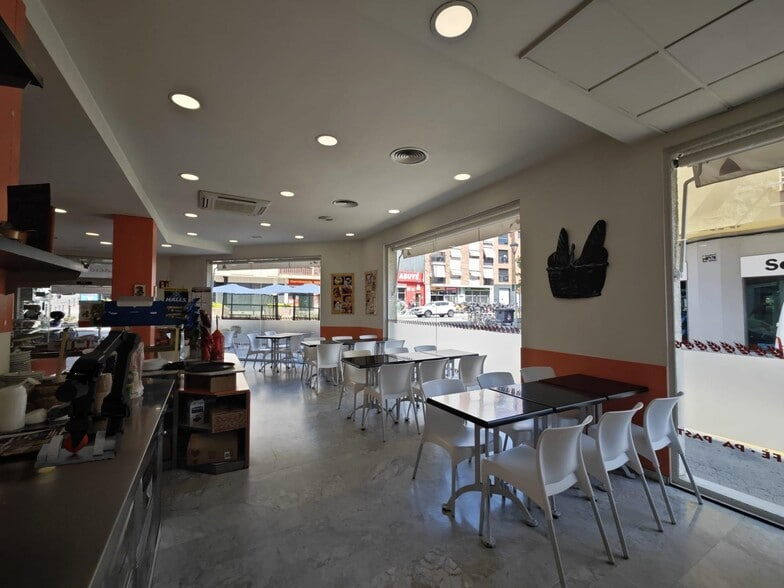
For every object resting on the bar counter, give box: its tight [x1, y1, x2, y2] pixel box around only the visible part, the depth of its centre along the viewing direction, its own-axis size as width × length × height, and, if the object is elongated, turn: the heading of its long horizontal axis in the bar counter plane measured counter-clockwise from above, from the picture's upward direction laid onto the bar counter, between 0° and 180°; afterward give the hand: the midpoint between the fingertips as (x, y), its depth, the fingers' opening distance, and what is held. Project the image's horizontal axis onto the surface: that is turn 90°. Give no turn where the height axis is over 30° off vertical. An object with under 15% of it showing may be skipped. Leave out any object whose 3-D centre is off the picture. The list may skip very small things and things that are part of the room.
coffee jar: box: [110, 373, 134, 404], centre depth 160 cm, size 10×8×19 cm
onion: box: [63, 433, 89, 453], centre depth 115 cm, size 6×6×8 cm
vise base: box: [33, 434, 116, 469], centre depth 116 cm, size 12×19×6 cm, turn 128°
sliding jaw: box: [93, 430, 123, 455], centre depth 120 cm, size 9×7×5 cm
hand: (76, 443), depth 115 cm, fingers open, 9 cm apart
